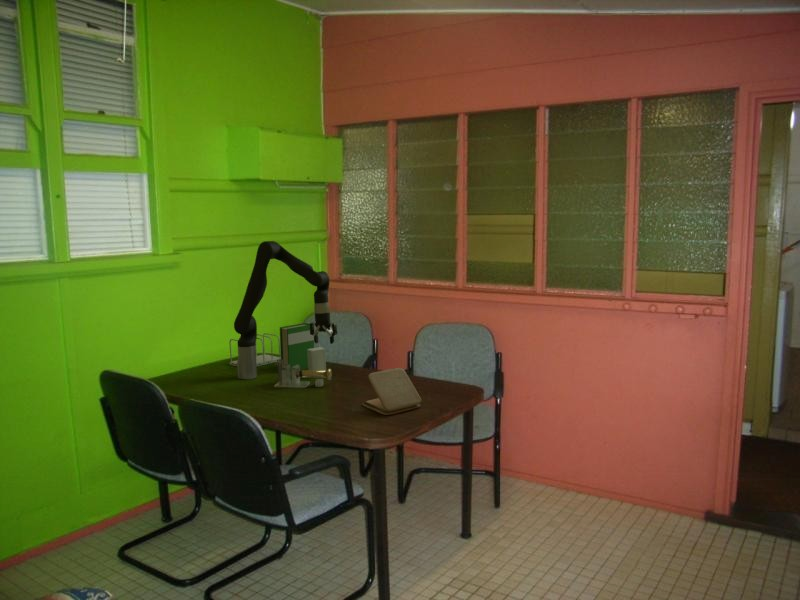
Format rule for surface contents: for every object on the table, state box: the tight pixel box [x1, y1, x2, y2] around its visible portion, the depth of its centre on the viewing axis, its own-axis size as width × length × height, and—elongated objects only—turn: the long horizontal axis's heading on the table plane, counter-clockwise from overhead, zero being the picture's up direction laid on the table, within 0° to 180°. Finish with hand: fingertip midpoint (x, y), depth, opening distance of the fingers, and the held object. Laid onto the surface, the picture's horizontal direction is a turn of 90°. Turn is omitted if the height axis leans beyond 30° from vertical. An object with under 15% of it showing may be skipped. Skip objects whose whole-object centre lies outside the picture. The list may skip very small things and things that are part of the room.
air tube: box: [296, 368, 333, 381], centre depth 327 cm, size 19×6×6 cm, turn 83°
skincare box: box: [307, 346, 327, 378], centre depth 346 cm, size 8×6×15 cm
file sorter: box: [228, 332, 281, 367], centre depth 377 cm, size 25×17×16 cm
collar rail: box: [273, 359, 324, 389], centre depth 328 cm, size 24×10×12 cm, turn 83°
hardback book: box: [279, 322, 315, 373], centre depth 363 cm, size 18×7×24 cm, turn 136°
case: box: [362, 367, 422, 416], centre depth 290 cm, size 20×21×16 cm
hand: (324, 343), depth 327 cm, fingers open, 8 cm apart
